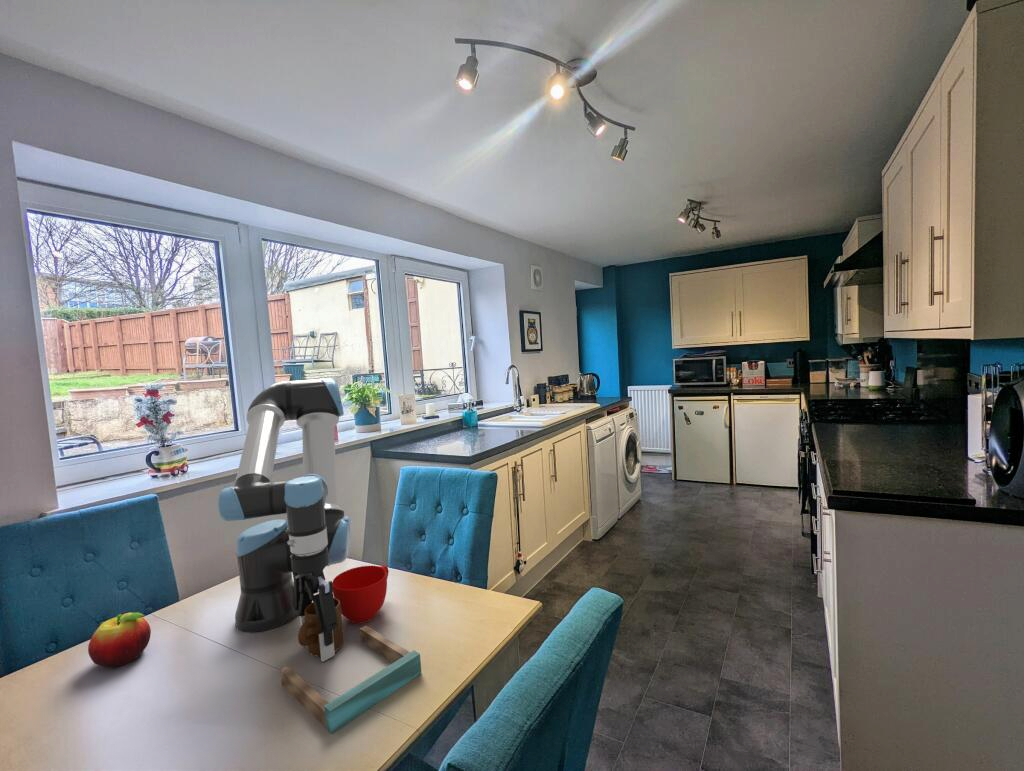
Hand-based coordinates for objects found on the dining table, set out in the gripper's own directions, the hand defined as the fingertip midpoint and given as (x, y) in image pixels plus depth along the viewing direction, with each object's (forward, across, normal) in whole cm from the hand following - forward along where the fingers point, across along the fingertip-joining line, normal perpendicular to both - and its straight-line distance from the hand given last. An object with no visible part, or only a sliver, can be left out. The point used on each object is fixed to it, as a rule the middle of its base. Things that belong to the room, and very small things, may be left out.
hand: (318, 650), depth 103 cm
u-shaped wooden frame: (0, +13, 0) cm, 13 cm away
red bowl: (+1, -6, +16) cm, 17 cm away
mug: (0, +1, 0) cm, 1 cm away
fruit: (+1, -35, -28) cm, 45 cm away
